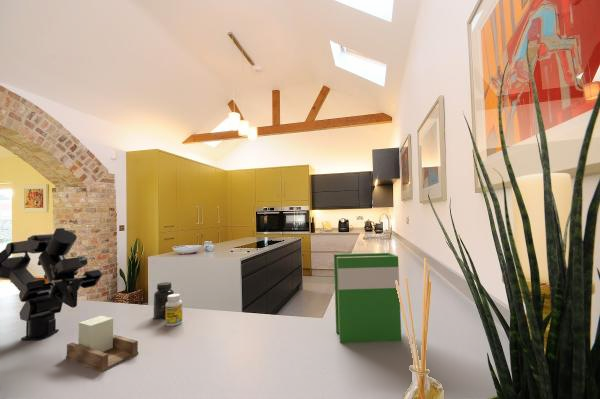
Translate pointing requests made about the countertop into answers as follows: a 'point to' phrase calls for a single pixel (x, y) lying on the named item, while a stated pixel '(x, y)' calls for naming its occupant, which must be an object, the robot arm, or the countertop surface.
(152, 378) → the countertop surface
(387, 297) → the hardback book
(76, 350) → the wooden tray holder
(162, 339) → the countertop surface
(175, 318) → the supplement bottle
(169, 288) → the supplement bottle
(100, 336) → the sage block
